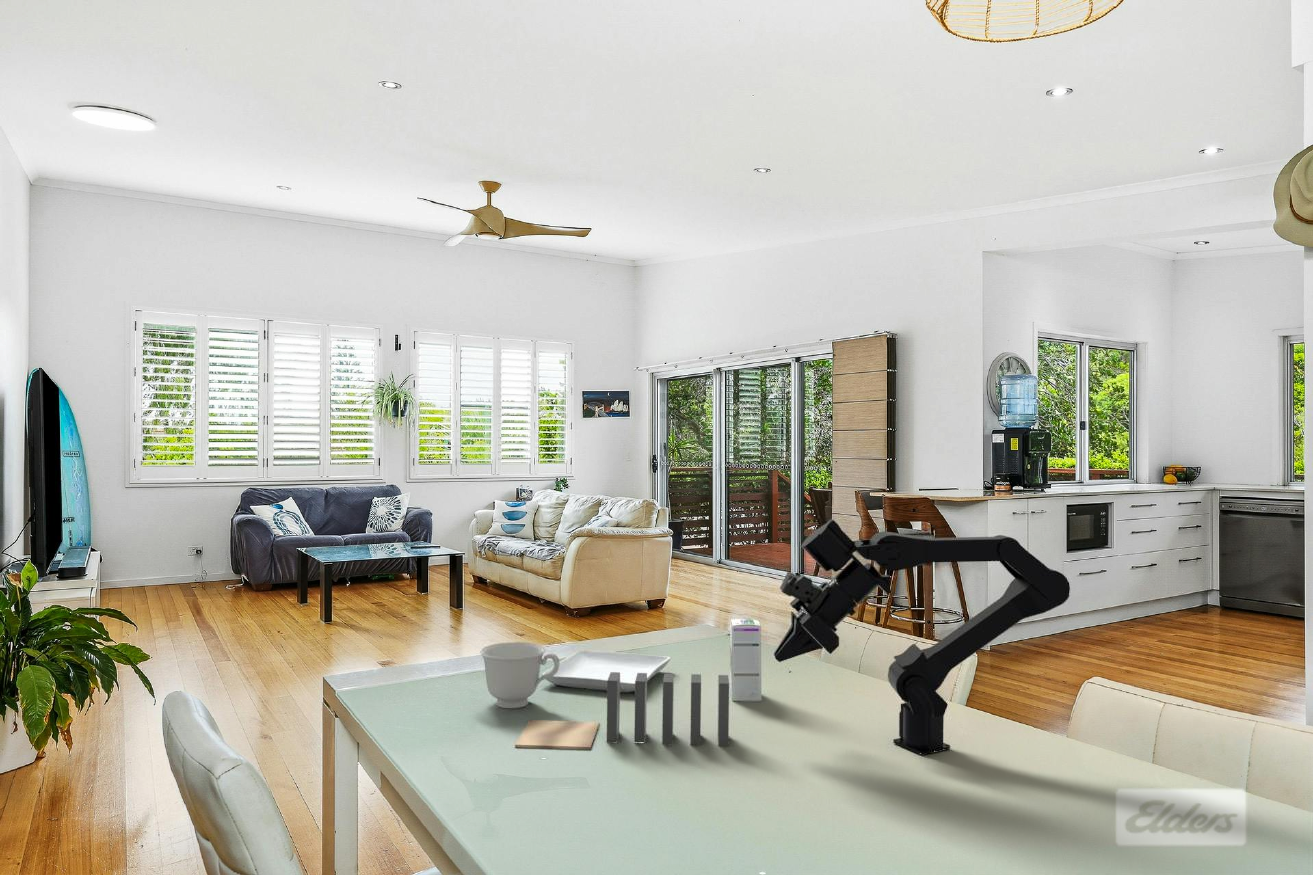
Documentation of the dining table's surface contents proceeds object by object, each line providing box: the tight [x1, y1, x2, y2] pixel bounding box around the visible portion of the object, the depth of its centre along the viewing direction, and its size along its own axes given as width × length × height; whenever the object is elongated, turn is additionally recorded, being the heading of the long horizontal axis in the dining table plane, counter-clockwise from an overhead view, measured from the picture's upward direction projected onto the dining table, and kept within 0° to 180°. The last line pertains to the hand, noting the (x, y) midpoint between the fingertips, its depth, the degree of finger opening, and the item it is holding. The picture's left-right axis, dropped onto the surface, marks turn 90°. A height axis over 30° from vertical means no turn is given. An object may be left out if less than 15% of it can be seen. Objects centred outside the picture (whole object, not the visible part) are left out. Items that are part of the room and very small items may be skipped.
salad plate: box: [541, 650, 671, 693], centre depth 173 cm, size 21×21×3 cm
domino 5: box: [717, 674, 730, 747], centre depth 138 cm, size 2×5×10 cm, turn 177°
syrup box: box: [729, 618, 762, 702], centre depth 162 cm, size 6×6×14 cm
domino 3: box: [661, 673, 675, 745], centre depth 138 cm, size 2×5×10 cm, turn 177°
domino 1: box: [606, 672, 621, 743], centre depth 139 cm, size 2×5×10 cm, turn 177°
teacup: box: [479, 641, 560, 709], centre depth 156 cm, size 12×15×10 cm
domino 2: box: [633, 673, 648, 743], centre depth 139 cm, size 2×5×10 cm, turn 177°
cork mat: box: [514, 719, 600, 750], centre depth 139 cm, size 12×12×1 cm
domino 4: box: [689, 673, 702, 746], centre depth 138 cm, size 2×5×10 cm, turn 177°
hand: (776, 658), depth 138 cm, fingers closed
